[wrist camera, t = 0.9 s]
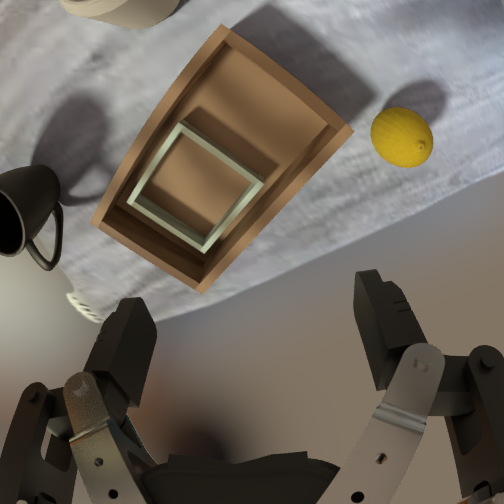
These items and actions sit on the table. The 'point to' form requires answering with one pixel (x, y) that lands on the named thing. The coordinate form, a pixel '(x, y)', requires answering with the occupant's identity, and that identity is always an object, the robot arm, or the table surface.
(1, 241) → the mug
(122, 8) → the can
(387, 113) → the lemon
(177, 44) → the table surface
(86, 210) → the table surface
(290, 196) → the caddy
